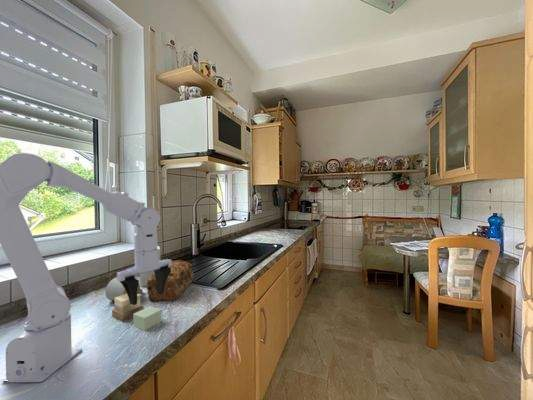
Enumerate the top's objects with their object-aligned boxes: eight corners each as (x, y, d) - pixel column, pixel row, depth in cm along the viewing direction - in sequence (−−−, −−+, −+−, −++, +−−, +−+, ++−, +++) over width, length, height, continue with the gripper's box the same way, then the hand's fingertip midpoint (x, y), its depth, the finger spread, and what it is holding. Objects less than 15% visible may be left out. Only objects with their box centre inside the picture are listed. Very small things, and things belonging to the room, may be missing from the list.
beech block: (122, 313, 65) (122, 301, 65) (114, 309, 68) (114, 297, 67) (140, 306, 69) (139, 295, 69) (132, 302, 72) (132, 291, 72)
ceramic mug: (125, 306, 74) (124, 282, 74) (104, 304, 76) (104, 281, 76) (148, 293, 84) (148, 272, 84) (130, 291, 86) (130, 271, 86)
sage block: (144, 331, 59) (144, 318, 59) (133, 326, 62) (133, 313, 62) (161, 322, 64) (161, 309, 64) (150, 318, 66) (150, 306, 66)
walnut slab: (122, 323, 64) (122, 314, 64) (112, 318, 67) (112, 309, 67) (143, 314, 69) (143, 306, 69) (132, 309, 72) (132, 301, 72)
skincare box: (161, 279, 99) (160, 245, 99) (161, 283, 93) (161, 248, 93) (139, 282, 95) (138, 247, 95) (138, 287, 90) (137, 250, 90)
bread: (170, 282, 95) (169, 259, 95) (195, 282, 95) (194, 258, 95) (145, 302, 77) (144, 273, 77) (176, 302, 76) (175, 272, 76)
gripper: (161, 243, 71) (162, 286, 71) (110, 254, 59) (111, 305, 59) (175, 245, 68) (176, 290, 68) (124, 257, 55) (126, 312, 55)
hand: (147, 298), depth 63 cm, fingers open, 7 cm apart
